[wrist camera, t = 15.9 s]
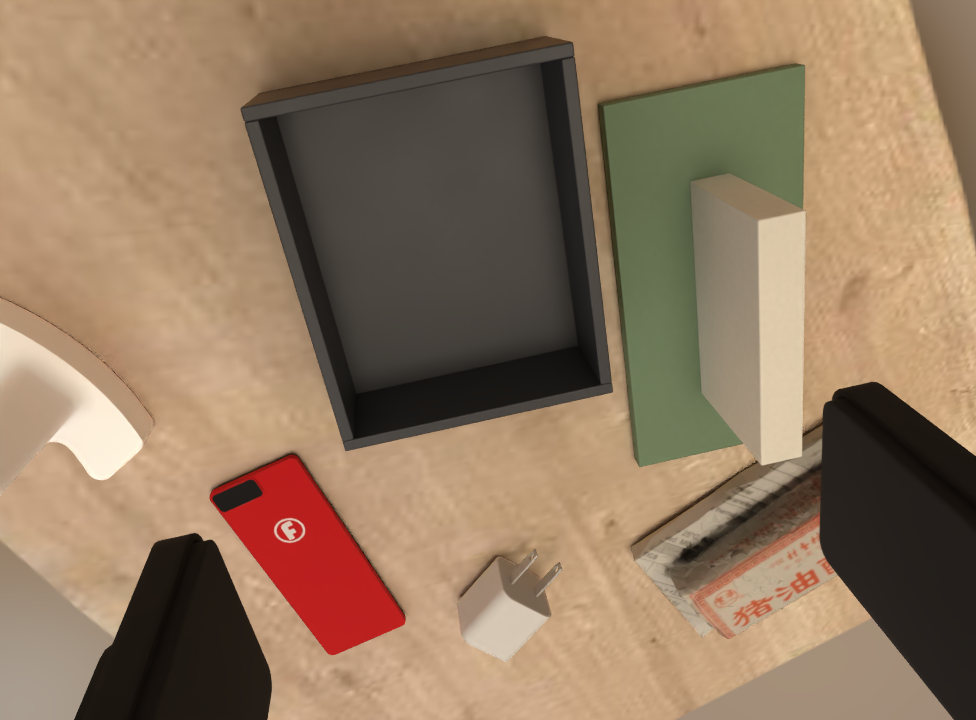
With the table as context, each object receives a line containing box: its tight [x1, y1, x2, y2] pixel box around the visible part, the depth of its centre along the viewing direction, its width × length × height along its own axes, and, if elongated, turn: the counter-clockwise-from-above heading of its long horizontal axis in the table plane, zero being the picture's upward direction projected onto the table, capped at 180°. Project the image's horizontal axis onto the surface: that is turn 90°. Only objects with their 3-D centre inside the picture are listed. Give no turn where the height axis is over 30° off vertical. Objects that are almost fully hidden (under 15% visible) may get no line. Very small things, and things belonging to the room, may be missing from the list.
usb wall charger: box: [457, 549, 562, 661], centre depth 49 cm, size 4×7×4 cm, turn 142°
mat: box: [598, 64, 805, 467], centre depth 43 cm, size 22×10×1 cm, turn 10°
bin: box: [241, 36, 613, 451], centre depth 38 cm, size 17×14×6 cm
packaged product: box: [632, 425, 837, 639], centre depth 50 cm, size 18×5×10 cm
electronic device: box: [210, 455, 405, 655], centre depth 48 cm, size 6×1×15 cm
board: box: [690, 173, 806, 465], centre depth 39 cm, size 13×2×8 cm, turn 10°
